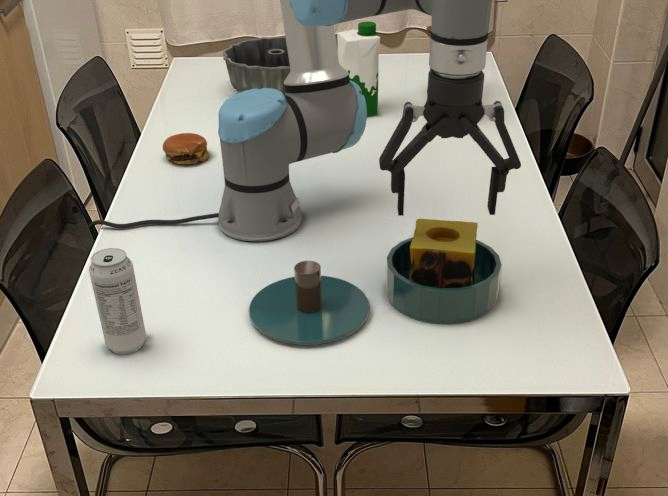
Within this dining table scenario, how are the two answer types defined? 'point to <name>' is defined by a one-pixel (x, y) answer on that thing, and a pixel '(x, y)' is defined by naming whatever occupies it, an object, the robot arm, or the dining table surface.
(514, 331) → the dining table surface
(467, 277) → the candle
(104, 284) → the energy drink can
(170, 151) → the burger
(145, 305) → the dining table surface
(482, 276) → the pot
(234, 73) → the bundt pan
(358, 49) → the milk carton
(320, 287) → the lid
